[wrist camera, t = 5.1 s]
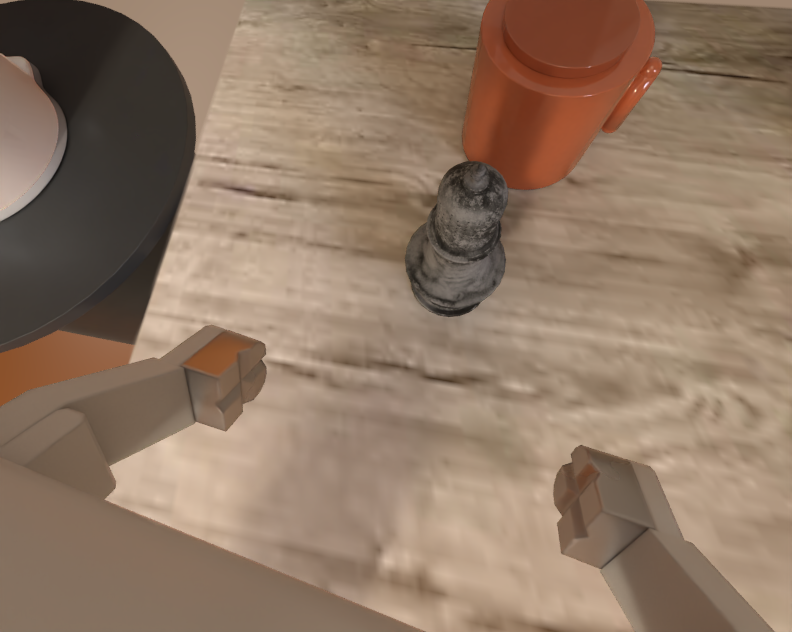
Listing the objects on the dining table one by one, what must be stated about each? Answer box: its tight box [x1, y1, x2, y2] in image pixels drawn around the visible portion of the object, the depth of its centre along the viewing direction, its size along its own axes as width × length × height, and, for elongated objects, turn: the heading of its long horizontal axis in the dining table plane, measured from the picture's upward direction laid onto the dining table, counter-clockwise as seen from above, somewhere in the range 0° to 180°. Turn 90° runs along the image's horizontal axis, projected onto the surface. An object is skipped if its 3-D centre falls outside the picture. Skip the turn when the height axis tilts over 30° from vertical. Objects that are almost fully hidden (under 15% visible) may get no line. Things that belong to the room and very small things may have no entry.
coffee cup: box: [462, 0, 662, 190], centre depth 22 cm, size 10×9×9 cm
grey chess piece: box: [405, 161, 508, 317], centre depth 18 cm, size 6×6×12 cm
